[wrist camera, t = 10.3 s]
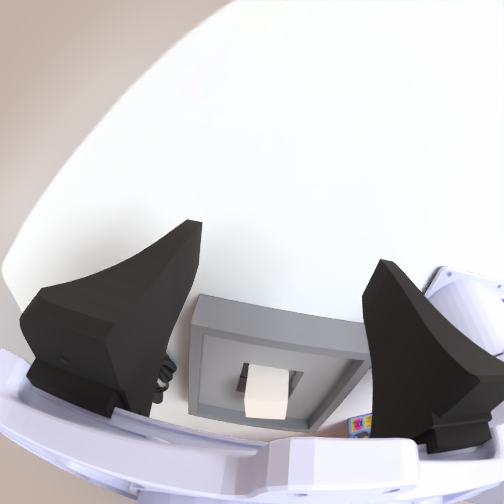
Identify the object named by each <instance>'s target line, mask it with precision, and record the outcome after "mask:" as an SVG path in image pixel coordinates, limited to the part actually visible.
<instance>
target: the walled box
mask: <svg viewBox="0 0 504 504" xmlns="http://www.w3.org/2000/svg"><path fill="white" fill-rule="evenodd" d="M244 363H249V364H255V365H261V366H267V367H273V368H279V369H286V370H293V371H297V372H296V373H295V375H294V377H293V379H292V381H291V383H290V385H288V404H287V410H286V417H285V420H283V419H264V418H251V417H246V413H245V403H244V397H245V390H246V383H247V378H243V377H240V375H241V371H242V367H243V364H244ZM371 366H372V365H371V358H370V352H369V346H368V341H367V335H366V330H365V325H364V323H357V322H350V321H344V320H337V319H331V318H325V317H319V316H313V315H307V314H301V313H295V312H290V311H284V310H279V309H273V308H268V307H263V306H257V305H252V304H247V303H242V302H237V301H232V300H227V299H222V298H217V297H212V296H208V295H203V294H200V295H199V298H198V301H197V304H196V307H195V310H194V313H193V316H192V319H191V322H190V341H189V391H188V414H190V415H194V416H199V417H204V418H208V419H213V420H218V421H224V422H229V423H235V424H241V425H247V426H253V427H260V428H268V429H276V430H285V431H294V432H305V433H314V432H315V431H316V430H317V429H318V428H319V427H320V426H321V425H322V424H323V423H324V422H325V421H326V419H327V418H328V417H329V416H330V415H331V414H332V413H333V412H334V410H335V409H336V408H337V407H338V406H339V405H340V404H341V402H342V401H343V400H344V399H345V398H346V397H347V395H348V394H349V393H350V392H351V391H352V389H353V388H354V387H355V386H356V385H357V383H358V382H359V381H360V380H361V378H362V377H363V376H364V375H365V373H366V372H367V371H368V369H369V368H370V367H371Z"/></svg>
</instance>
